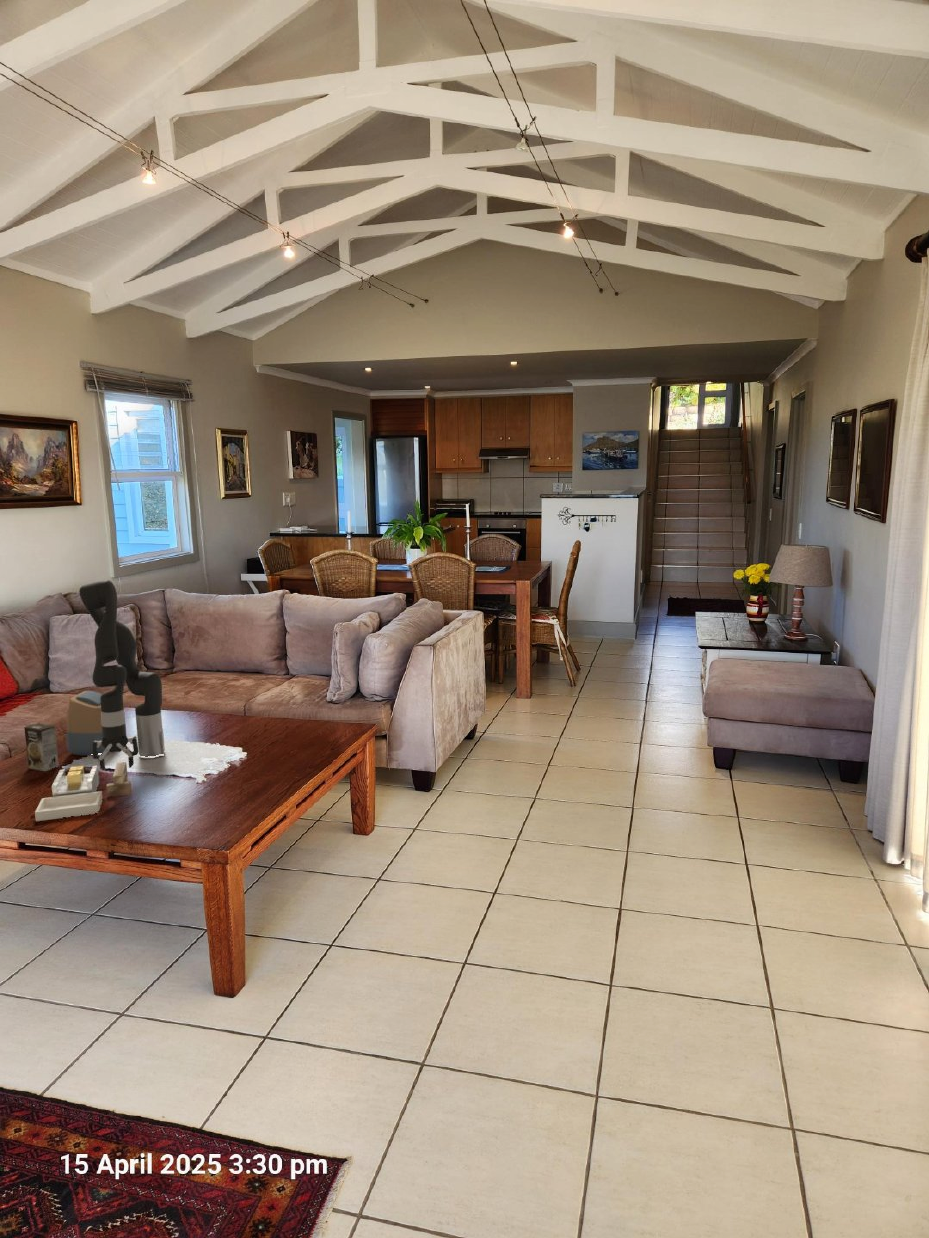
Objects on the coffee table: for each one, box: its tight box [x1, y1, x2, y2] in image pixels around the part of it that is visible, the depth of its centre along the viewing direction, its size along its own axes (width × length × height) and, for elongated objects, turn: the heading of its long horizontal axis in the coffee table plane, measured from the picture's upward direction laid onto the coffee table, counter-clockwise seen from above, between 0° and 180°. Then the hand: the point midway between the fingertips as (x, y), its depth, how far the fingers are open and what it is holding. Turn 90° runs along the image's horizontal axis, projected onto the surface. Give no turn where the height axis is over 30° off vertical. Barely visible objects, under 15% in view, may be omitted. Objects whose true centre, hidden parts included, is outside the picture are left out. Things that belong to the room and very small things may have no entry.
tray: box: [34, 790, 104, 822], centre depth 258 cm, size 18×12×3 cm, turn 108°
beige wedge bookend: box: [106, 761, 133, 798], centre depth 276 cm, size 8×14×7 cm, turn 18°
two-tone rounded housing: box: [65, 690, 105, 756], centre depth 316 cm, size 17×17×23 cm
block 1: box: [68, 765, 85, 781], centre depth 274 cm, size 4×4×4 cm
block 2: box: [66, 771, 83, 787], centre depth 270 cm, size 4×4×4 cm
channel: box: [51, 765, 100, 797], centre depth 272 cm, size 12×16×6 cm
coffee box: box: [23, 722, 60, 772], centre depth 298 cm, size 9×6×16 cm
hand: (117, 768), depth 274 cm, fingers open, 8 cm apart
